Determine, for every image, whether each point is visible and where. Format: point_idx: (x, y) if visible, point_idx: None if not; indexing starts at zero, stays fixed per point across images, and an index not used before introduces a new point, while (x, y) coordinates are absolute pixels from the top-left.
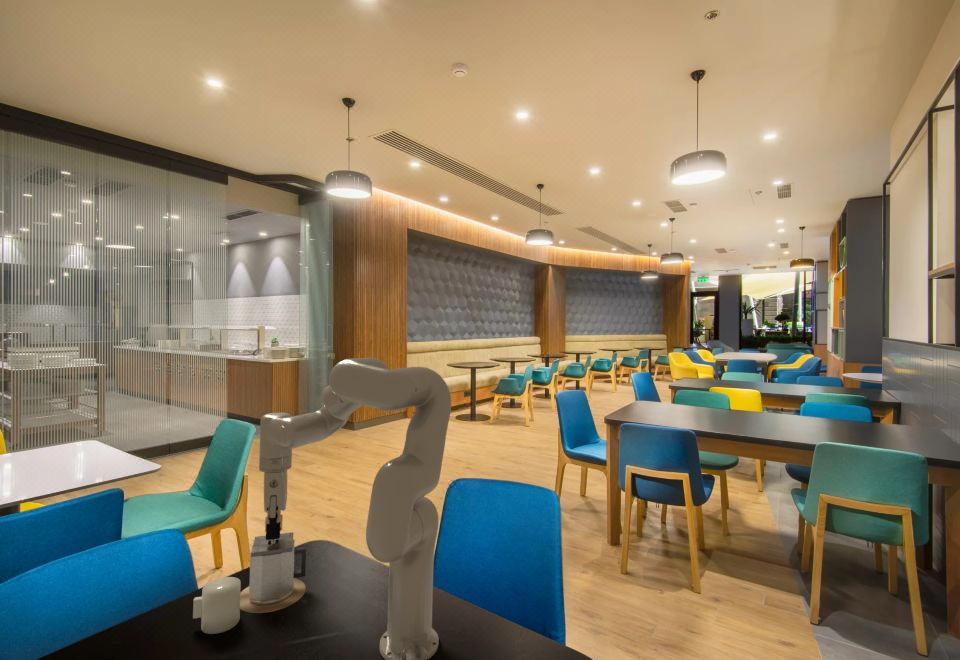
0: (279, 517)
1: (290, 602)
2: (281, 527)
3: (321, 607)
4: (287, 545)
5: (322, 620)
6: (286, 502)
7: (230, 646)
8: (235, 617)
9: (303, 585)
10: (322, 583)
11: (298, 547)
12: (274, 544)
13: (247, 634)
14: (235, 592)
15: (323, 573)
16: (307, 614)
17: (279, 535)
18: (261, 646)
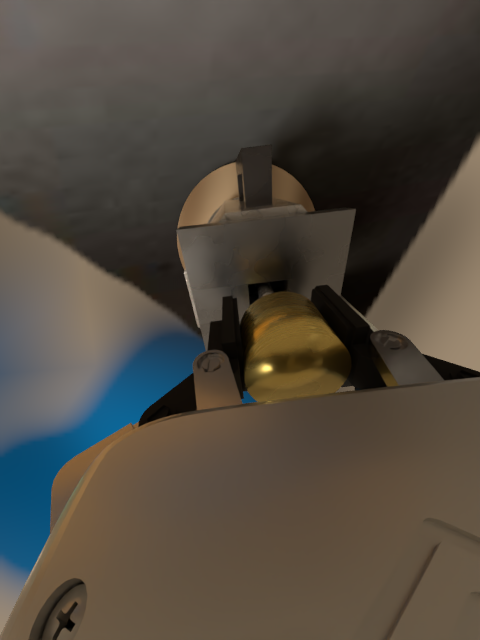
0: (319, 348)
1: (298, 196)
2: (299, 299)
3: (333, 99)
4: (322, 236)
5: (394, 90)
6: (367, 416)
7: (376, 283)
8: (341, 296)
9: (226, 170)
10: (206, 104)
11: (247, 188)
12: (293, 291)
13: (357, 265)
14: (369, 322)
15: (144, 105)
16: (348, 143)
17: (330, 290)
18: (406, 233)
